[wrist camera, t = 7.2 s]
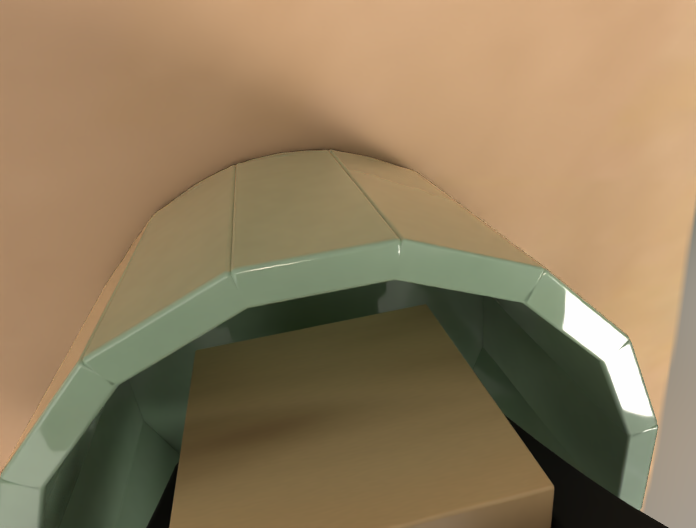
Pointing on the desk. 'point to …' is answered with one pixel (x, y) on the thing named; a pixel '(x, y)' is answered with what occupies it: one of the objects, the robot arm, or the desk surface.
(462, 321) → the pot
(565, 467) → the robot arm
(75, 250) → the desk surface
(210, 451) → the block
